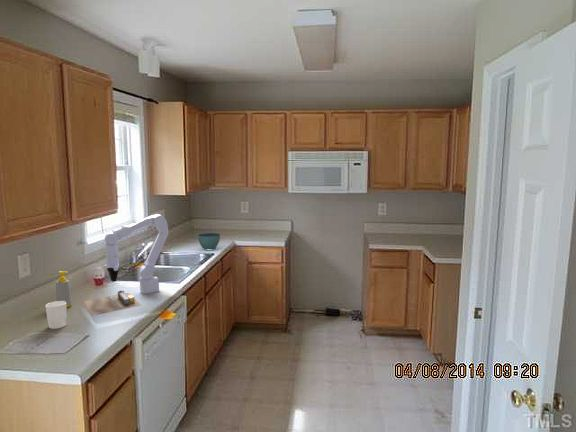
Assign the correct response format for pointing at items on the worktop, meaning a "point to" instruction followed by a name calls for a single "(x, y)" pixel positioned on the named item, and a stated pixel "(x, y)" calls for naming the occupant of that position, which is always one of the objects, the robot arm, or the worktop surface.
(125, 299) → the swing bar
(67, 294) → the soap bottle
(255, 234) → the worktop surface
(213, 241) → the plant pot
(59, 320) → the white cup
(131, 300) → the light wood small block
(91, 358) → the worktop surface
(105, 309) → the latch board
